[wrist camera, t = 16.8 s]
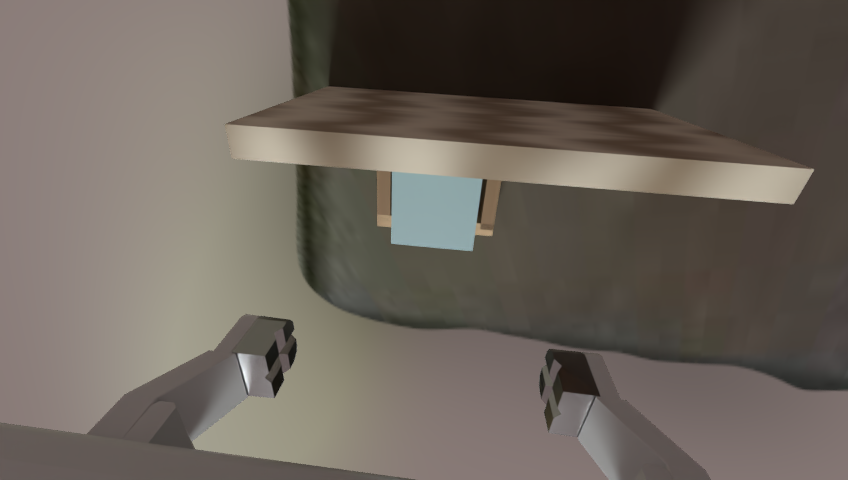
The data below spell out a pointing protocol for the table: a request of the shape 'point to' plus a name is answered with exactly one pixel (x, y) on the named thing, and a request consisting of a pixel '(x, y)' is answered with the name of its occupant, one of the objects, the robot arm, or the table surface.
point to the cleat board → (510, 146)
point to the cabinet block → (434, 210)
